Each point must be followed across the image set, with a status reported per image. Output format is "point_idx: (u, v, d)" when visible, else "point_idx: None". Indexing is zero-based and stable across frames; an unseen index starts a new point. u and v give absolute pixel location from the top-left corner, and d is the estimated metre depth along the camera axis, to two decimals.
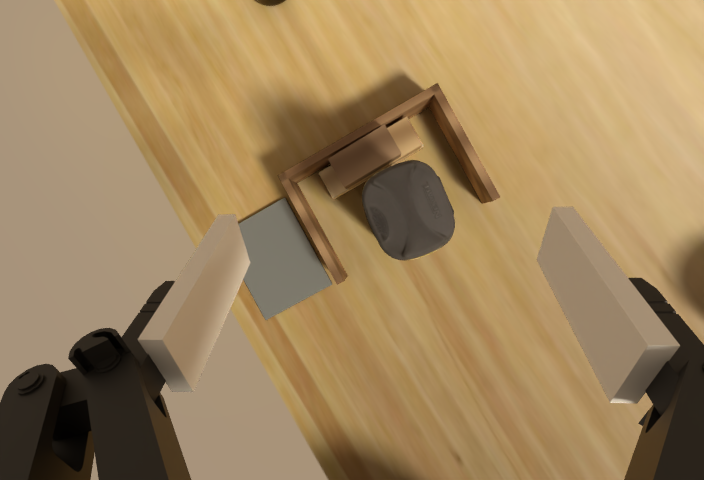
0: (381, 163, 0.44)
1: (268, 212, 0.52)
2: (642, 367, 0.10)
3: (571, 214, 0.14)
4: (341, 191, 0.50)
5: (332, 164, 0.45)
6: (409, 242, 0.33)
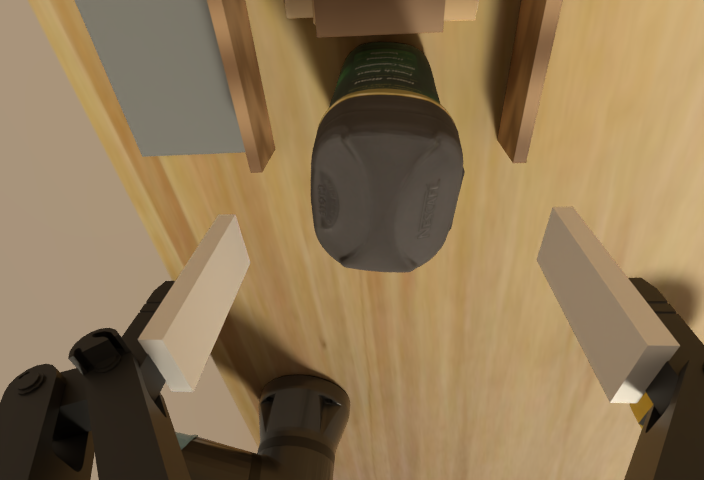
0: (400, 31, 0.23)
1: None
2: (642, 367, 0.10)
3: (571, 214, 0.14)
4: (306, 14, 0.27)
5: None
6: (359, 255, 0.20)
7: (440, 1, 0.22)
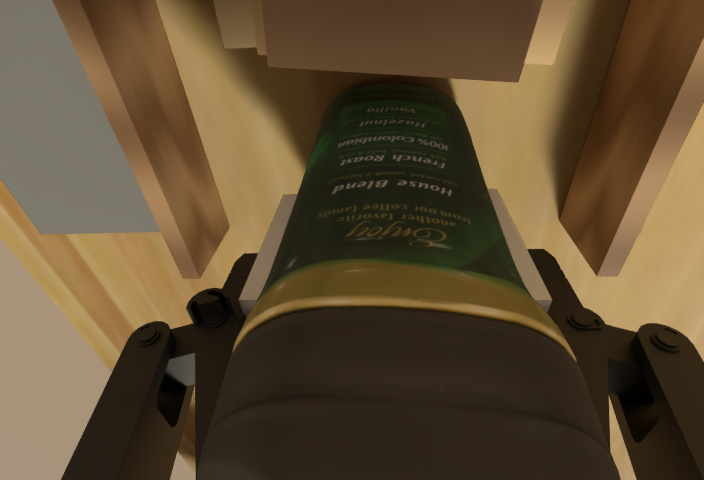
0: (434, 72, 0.12)
1: None
2: None
3: (493, 195, 0.15)
4: None
5: None
6: None
7: (525, 22, 0.11)
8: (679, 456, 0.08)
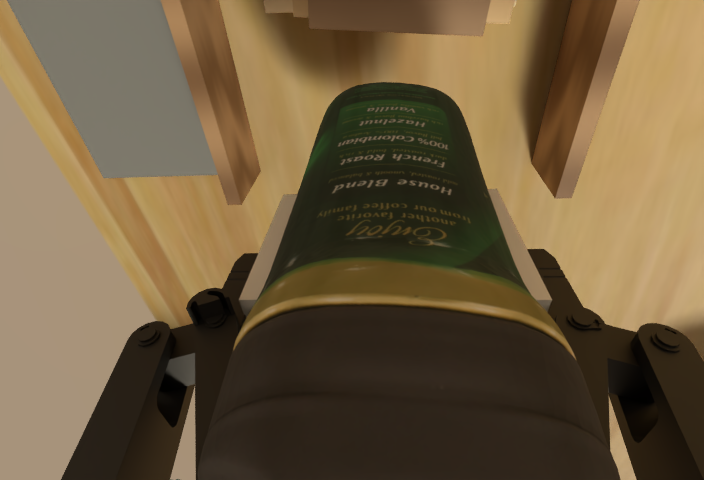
0: (424, 30, 0.17)
1: None
2: None
3: (493, 195, 0.15)
4: (290, 7, 0.21)
5: None
6: None
7: None
8: (679, 456, 0.08)
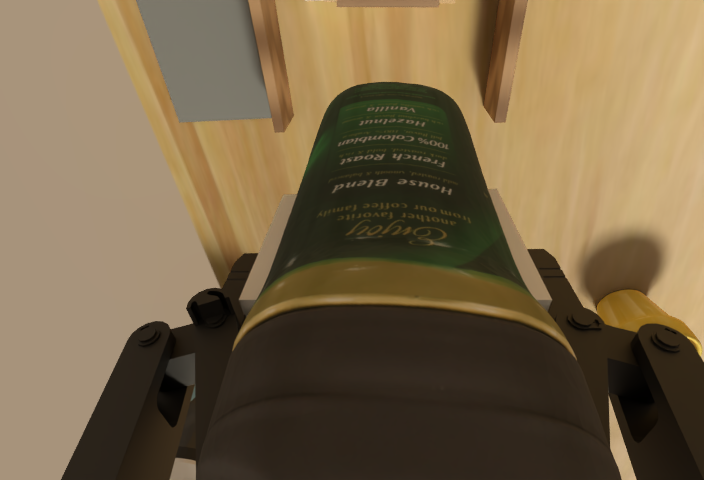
0: (404, 4, 0.29)
1: None
2: None
3: (493, 195, 0.15)
4: None
5: None
6: None
7: None
8: (679, 456, 0.08)
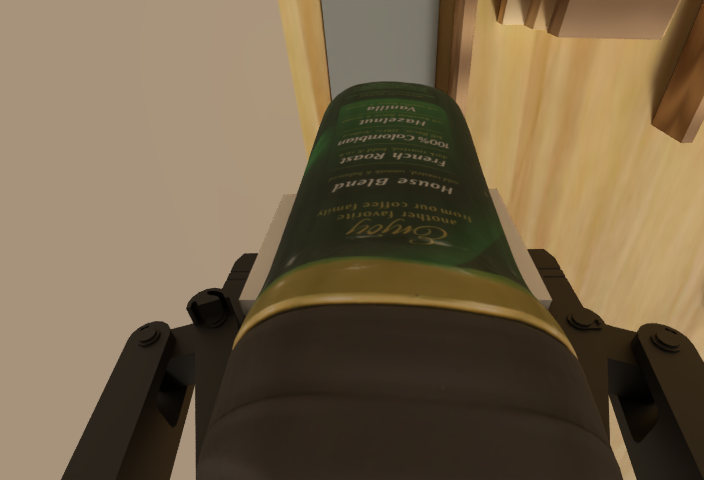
0: (627, 36, 0.29)
1: (406, 0, 0.34)
2: None
3: (493, 195, 0.15)
4: (519, 21, 0.33)
5: None
6: None
7: (667, 15, 0.28)
8: (679, 456, 0.08)
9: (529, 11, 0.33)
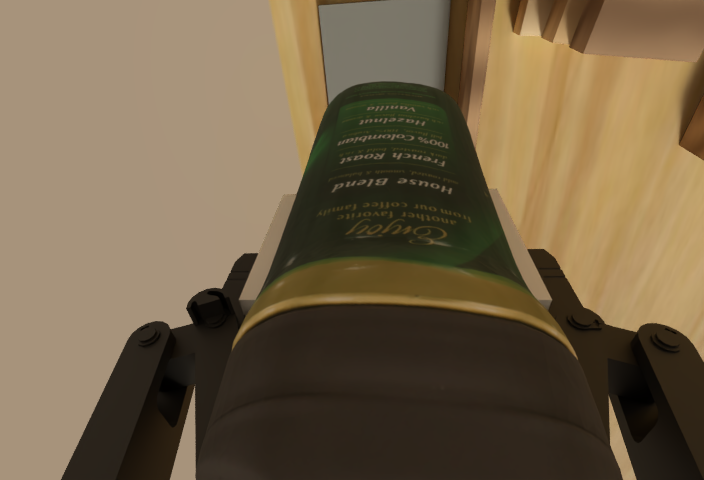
0: (659, 57, 0.26)
1: (412, 8, 0.31)
2: None
3: (493, 195, 0.15)
4: (539, 32, 0.30)
5: (606, 2, 0.24)
6: None
7: None
8: (679, 456, 0.08)
9: (548, 22, 0.29)
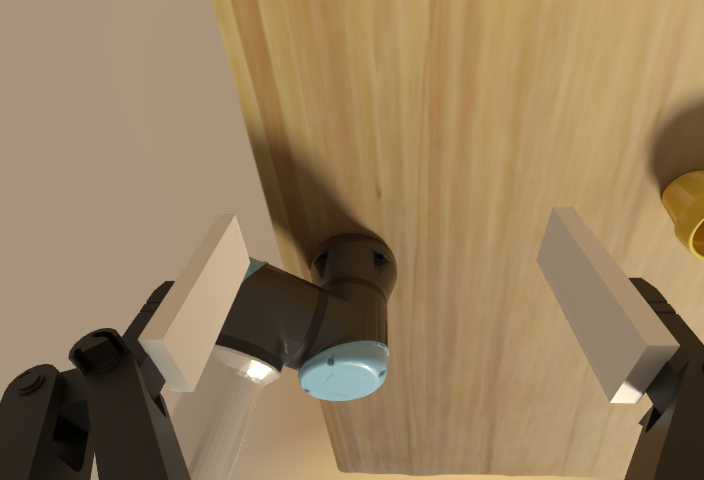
0: None
1: None
2: (642, 367, 0.10)
3: (571, 214, 0.14)
4: None
5: None
6: None
7: None
8: None
9: None
